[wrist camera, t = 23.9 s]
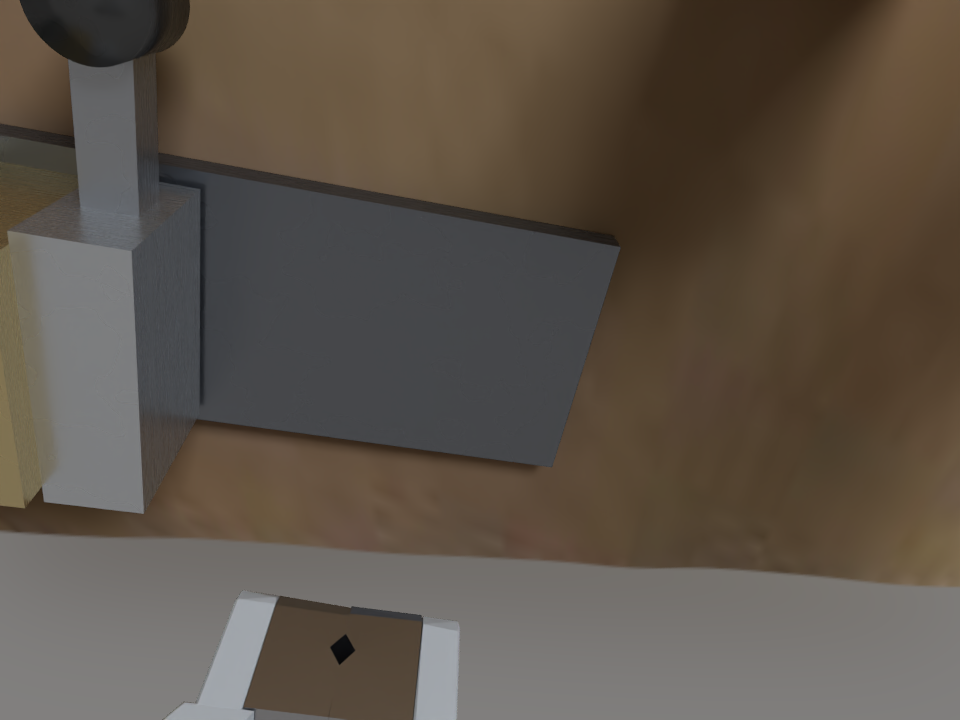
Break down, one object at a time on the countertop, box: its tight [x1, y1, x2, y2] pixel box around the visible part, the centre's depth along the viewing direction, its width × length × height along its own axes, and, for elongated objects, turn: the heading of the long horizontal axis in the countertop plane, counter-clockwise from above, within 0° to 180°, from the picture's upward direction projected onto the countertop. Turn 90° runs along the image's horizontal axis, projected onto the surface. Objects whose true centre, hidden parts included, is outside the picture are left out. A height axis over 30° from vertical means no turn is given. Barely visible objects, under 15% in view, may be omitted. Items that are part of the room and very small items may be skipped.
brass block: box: [0, 162, 79, 508], centre depth 22 cm, size 4×8×7 cm, turn 169°
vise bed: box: [0, 124, 621, 467], centre depth 23 cm, size 25×10×7 cm, turn 79°
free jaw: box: [7, 0, 200, 514], centre depth 21 cm, size 3×16×6 cm, turn 169°
